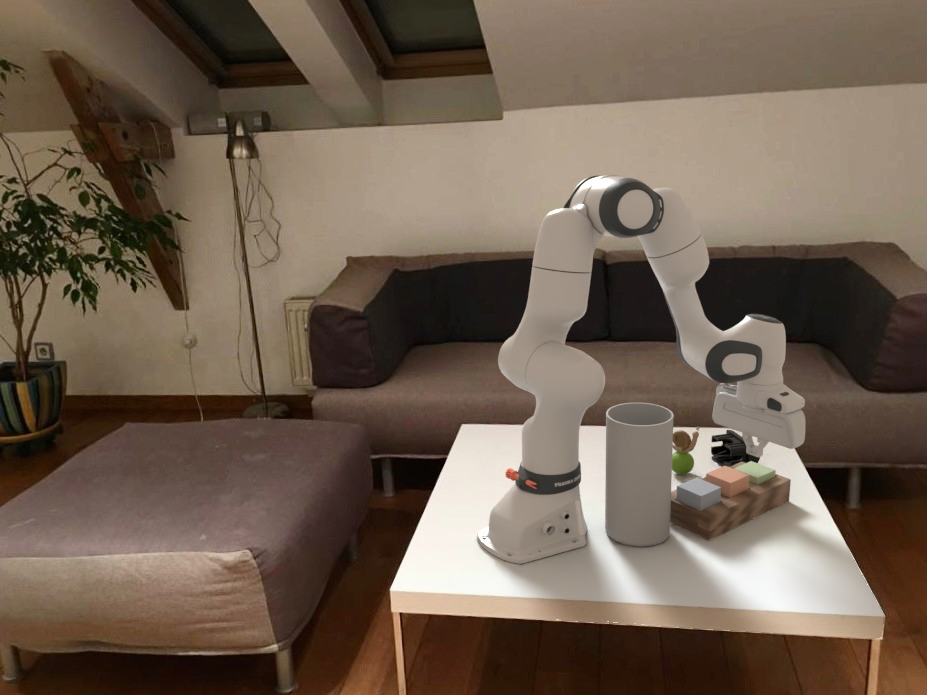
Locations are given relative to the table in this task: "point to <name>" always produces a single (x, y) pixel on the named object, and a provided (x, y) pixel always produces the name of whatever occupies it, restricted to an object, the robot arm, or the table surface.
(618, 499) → the cylinder vase
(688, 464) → the snail figurine
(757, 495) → the key panel
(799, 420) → the robot arm
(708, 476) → the terracotta key
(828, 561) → the table surface
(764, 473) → the sage key
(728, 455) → the end cap
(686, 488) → the slate key
